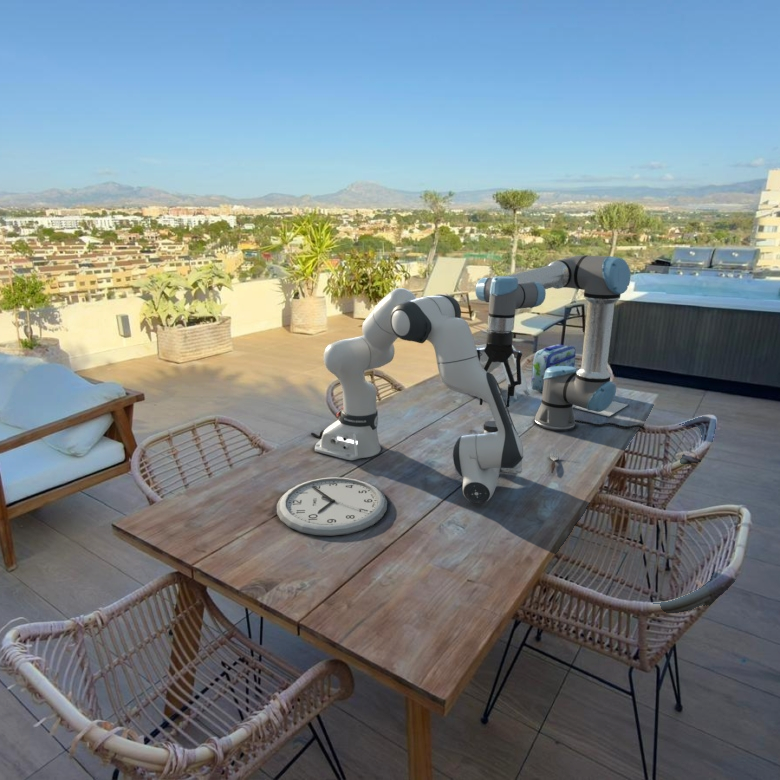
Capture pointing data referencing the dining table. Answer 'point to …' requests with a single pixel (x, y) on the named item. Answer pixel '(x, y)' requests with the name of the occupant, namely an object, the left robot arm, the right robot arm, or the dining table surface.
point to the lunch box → (550, 362)
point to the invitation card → (607, 409)
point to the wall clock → (331, 506)
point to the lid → (490, 426)
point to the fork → (554, 460)
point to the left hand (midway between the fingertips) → (490, 450)
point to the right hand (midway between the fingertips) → (494, 404)
